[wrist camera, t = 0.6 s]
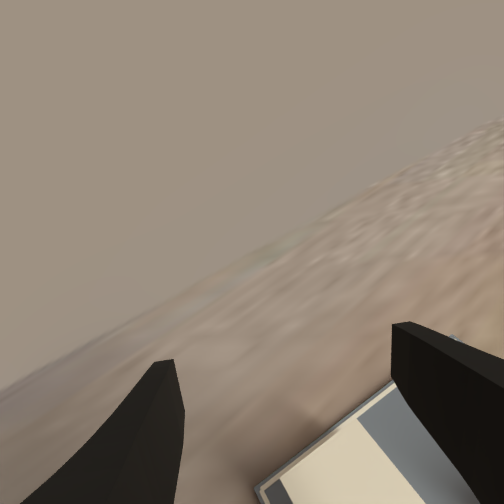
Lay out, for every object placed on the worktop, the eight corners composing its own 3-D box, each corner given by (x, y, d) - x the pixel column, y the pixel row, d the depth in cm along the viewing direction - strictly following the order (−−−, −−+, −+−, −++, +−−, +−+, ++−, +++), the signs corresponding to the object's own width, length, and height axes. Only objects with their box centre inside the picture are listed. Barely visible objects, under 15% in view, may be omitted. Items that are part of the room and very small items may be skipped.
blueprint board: (711, 536, 17) (789, 524, 14) (446, 891, 12) (476, 990, 9) (450, 337, 28) (462, 306, 25) (255, 489, 23) (239, 474, 20)
